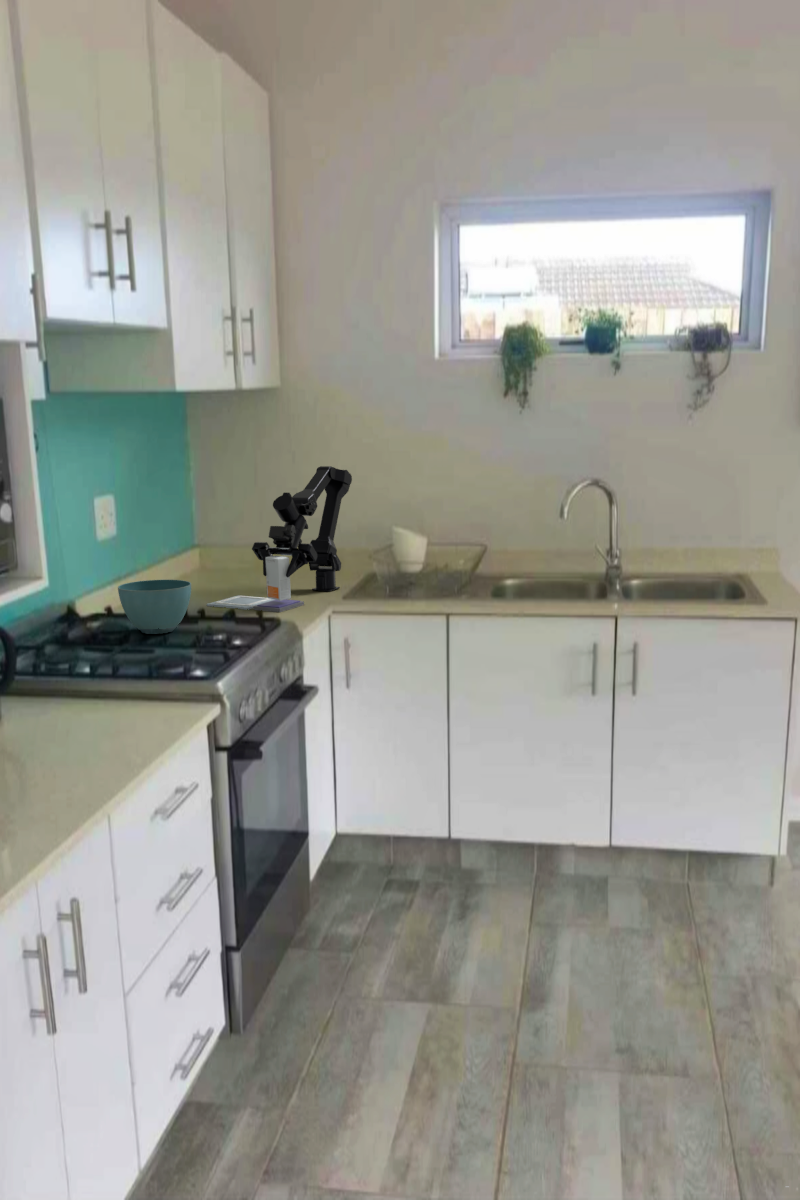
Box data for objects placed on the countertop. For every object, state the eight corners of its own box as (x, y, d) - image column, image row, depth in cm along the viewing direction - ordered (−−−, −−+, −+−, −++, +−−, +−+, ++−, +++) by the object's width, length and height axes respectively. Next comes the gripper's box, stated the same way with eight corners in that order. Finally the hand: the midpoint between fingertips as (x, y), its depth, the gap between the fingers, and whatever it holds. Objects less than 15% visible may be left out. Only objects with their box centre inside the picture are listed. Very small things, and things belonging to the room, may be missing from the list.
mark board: (238, 597, 313) (238, 594, 313) (279, 600, 306) (279, 597, 306) (206, 605, 300) (206, 602, 300) (248, 609, 293) (248, 606, 293)
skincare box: (266, 598, 296) (264, 557, 294) (278, 596, 299) (276, 555, 297) (279, 601, 292) (277, 559, 290) (291, 598, 295) (289, 557, 293)
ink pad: (278, 602, 303) (278, 598, 303) (304, 604, 299) (303, 600, 299) (253, 609, 293) (253, 605, 293) (279, 612, 289) (279, 607, 288)
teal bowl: (134, 624, 276) (130, 579, 273) (201, 624, 274) (198, 578, 272) (111, 639, 258) (107, 591, 256) (183, 639, 257) (180, 590, 254)
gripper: (253, 514, 298) (235, 557, 290) (311, 515, 291) (294, 560, 283) (268, 537, 307) (251, 580, 299) (324, 539, 300) (309, 583, 292)
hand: (275, 575), depth 293 cm, fingers closed on skincare box, 7 cm apart
